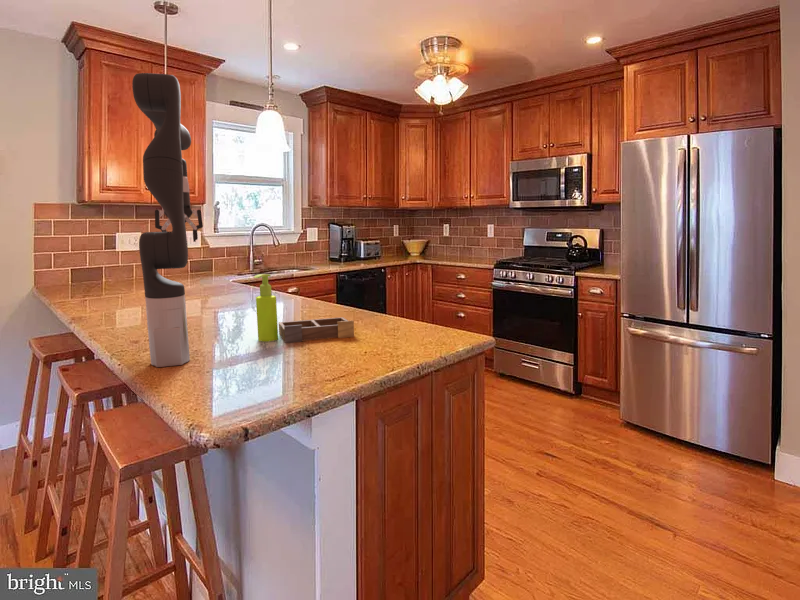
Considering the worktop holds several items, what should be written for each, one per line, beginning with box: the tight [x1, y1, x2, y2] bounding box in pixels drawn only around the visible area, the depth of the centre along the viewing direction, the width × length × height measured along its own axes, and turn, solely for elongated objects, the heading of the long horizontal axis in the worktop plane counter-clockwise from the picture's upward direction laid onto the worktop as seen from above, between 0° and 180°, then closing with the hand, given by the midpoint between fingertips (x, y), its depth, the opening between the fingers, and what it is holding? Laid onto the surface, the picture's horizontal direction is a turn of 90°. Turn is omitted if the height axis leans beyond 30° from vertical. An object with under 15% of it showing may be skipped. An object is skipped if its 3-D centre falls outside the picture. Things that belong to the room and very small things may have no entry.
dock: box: [278, 316, 355, 344], centre depth 162 cm, size 13×21×5 cm, turn 111°
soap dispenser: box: [253, 273, 279, 343], centre depth 155 cm, size 6×7×20 cm
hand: (180, 241), depth 169 cm, fingers open, 8 cm apart
